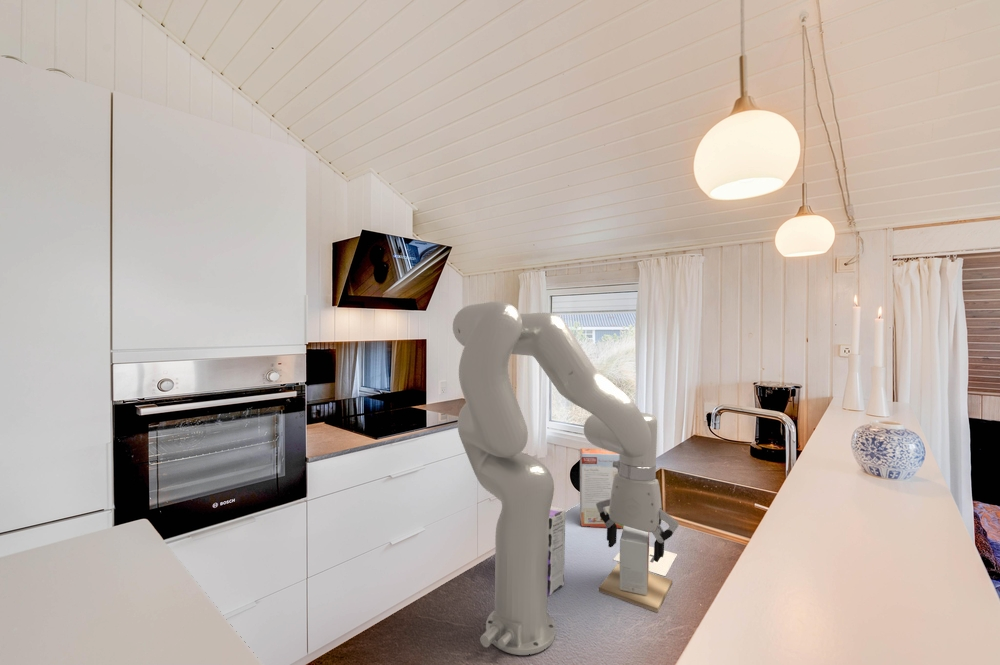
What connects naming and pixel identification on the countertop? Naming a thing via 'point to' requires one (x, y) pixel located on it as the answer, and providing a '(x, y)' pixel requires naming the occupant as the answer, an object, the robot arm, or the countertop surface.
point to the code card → (661, 565)
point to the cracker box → (595, 484)
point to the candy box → (556, 549)
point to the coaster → (651, 601)
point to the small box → (634, 560)
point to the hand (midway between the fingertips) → (634, 551)
